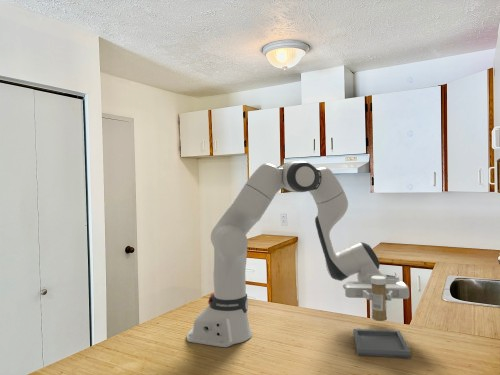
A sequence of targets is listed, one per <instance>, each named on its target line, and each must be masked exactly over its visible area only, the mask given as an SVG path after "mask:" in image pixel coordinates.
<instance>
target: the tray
mask: <svg viewBox="0 0 500 375" xmlns="http://www.w3.org/2000/svg"><path fill="white" fill-rule="evenodd" d="M352 332H353V339H354V344H355V349H356V354H357V356H359V357H360V356H362V357H363V356H364V357H378V358H379V357H382V358H399V359H411V357H412V356H411V350H410V348H409V346H408V344H407V341H406V340H405V338H404V336H403V335H402V333H401V331H400V330H395V329H394V330H389V329H369V328H353V329H352Z"/></svg>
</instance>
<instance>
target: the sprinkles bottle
mask: <svg viewBox="0 0 500 375" xmlns="http://www.w3.org/2000/svg"><path fill="white" fill-rule="evenodd" d="M371 284H372V300H371V318H372V319H373V320H374V321H376V322H384V321H386V320H387V319H388V316H387V300H386V278H385V277H384V276H372V277H371Z"/></svg>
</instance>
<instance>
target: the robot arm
mask: <svg viewBox="0 0 500 375" xmlns="http://www.w3.org/2000/svg"><path fill="white" fill-rule="evenodd" d="M280 190H284V191H289V192H292V193H306V192H308V193H310V195H311V196H312V198H313V200H314V203H315V204H316V207H317V215H316V217H315V218H314V223H315V228H316V231H317V237H318V240H319V243H320V245H321V250H322V252H323V255H324V258H325V259H324V260H325V267H326V271H327V273H328V275H329V276H330V277H331V278H332V279H333V280H336V281H340V282H343V281H344V280H346V279H348V278H349V277H351V276H353V275H355V274H356V277H357V281H347V282H346V283H344V284H343V285H342V288H343V289H344V294H345V297H347V298H354V299H355V298H356V299H357V298H358V299H366V300H367V301H372V284H371V277H372V276H384V277H385V278H386V301H387V302H389V301H392V300H394V299H397V300H398V299H399V300H400V299H401V300H402V299H403V300H407V299H409V298H410V288H409V286H408V285H407V283H405V282H404V280H403V281H402V280H400V277H399V276H397V275H391V274H385V273H382V272H381V271H380V270H379V269H380V265H381V263H380V261H379V258H378V257H377V254H376V253H375V251H374V250H373V249H372V246H370V245H369V244H368V243H365V242H362V241H360V242H358V243H356V244H354V245H351V246H349V247H347V248H344V249H343V250H340V251H338V252H336V251H334V247H333V244H332V240H331V236H330V234H331V233H330V232H331V230H332V229H333V228H334V226H335V225H336V224H337V223H338V222H339V221H340V220H342V218H343V217H344V215H345V214H346V212H347V210H348V207H349V201H348V197H347V195H346V192H345V191H344V188H343V186H342V185H341V183H340V182H339V179H338V178H337V177H336V175H335V174H334V172H333V171H332V170H331V169H330V168H328V167H319V168H317V167H315V166H314V165H312V164H311V163H310V162H307V161H305V160H299V161H298V160H293V161H289V162H285V163H283V164H281V165H279V166H275V165H274V164H272V163H262V164H260V166H258V167H257V169H256V170H255V171H253V173H252V174H251V176H250V177H249V178H248V179H247V181H246V182H245V184H244V185H243V187H242V188H241V190H240V191H239V193H238V194H237V196H236V198H235V199H234V200H233V202H232V204H231V205H230V206H229V208H228V209H227V210H226V211H225V213H224V214H223V215H222V216H221V218H220V219H219V220H218V222H217V223H216V225H215V226H214V227H213V228H212V230H211V232H210V242H211V244H212V246H213V253H214V254H213V257H214V259H213V274H212V275H213V292H212V293H210V296H209V297H208V300H207V304H208V306H206V308H204V309H203V310H202V311H201V312H200V313H199V314H198V315H197V316H196V317H195V320H194V322H193V326H192V328H191V329H189V331H188V332H187V334H186V341H187V342H188V343H194V344H201V345H208V346H215V347H219V348H220V347H221V348H228V347H231V346H232V345H236V344H241V343H244V342H246V341H248V340H249V339H251V337H252V335H253V332H252V330H251V326H250V321H249V314H248V309H249V302H248V299H249V298H248V294H247V289H246V287H247V286H246V284H247V283H246V268H247V267H246V266H247V257H248V256H247V255H248V238H247V234H248V233H249V232H250V230H251V229H253V227H254V226H255V225H256V224H257V223H258V222H259V221H260V220H261V219H262V218H263V217H262V216H263V215H264V214H265V212H266V211H267V209H268V208H269V206H270V204H272V201H273V200H274V198H275V196H276V195H277V193H278V192H280Z"/></svg>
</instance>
